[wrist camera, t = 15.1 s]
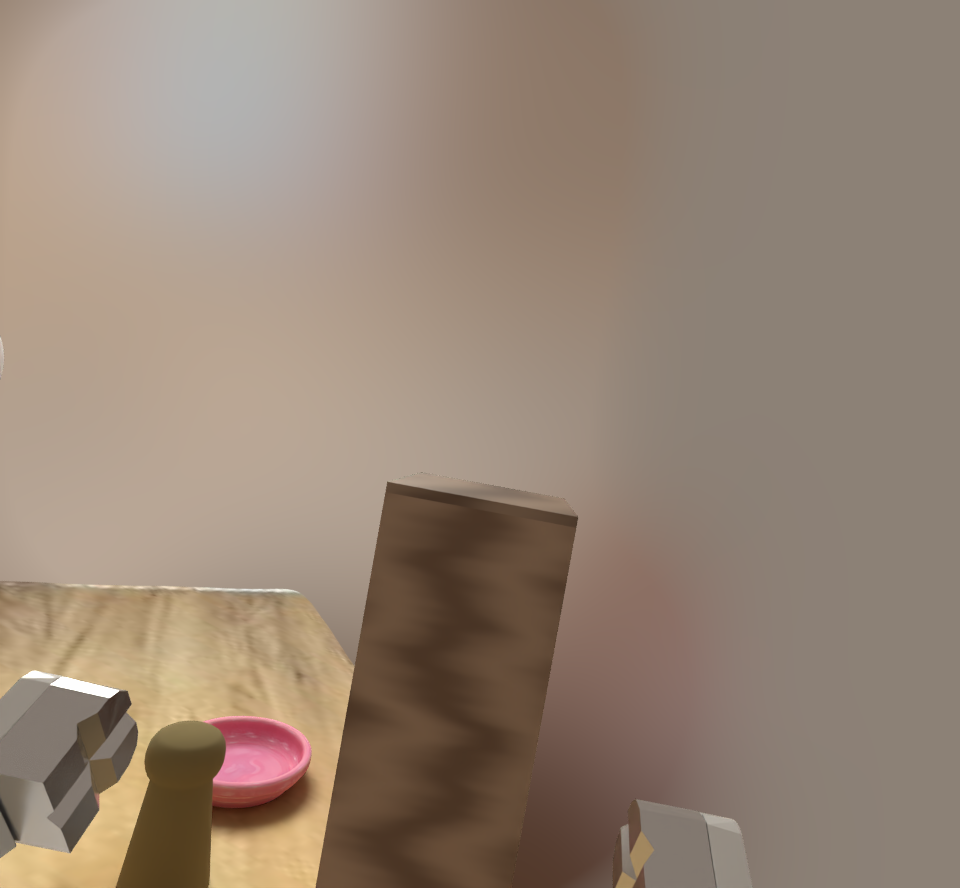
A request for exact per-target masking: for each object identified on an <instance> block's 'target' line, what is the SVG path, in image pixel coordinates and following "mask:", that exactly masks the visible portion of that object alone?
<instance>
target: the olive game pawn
mask: <svg viewBox="0 0 960 888" xmlns="http://www.w3.org/2000/svg"><path fill="white" fill-rule="evenodd" d="M225 754H226V741H225V739H224V736H223V734H222V733H221V731H220V730H219V729H218V728H216V727H215V726H213V725H211V724H208V723H205V722H200V721H182V722H177V723H174V724H171V725H168V726H166V727H164V728H162V729H161V730H160V731H159V732H158V733H156V735H155V736H154V737H153V738H152V739H151V741H150V743H149V746H148V748H147V751H146V755H145V770H146V773H147V776H148V777H149V779H150V781H149V785H148V788H147V791H146V794H145V797H144V800H143V803H142V807H141V810H140V813H139V816H138V819H137V822H136V825H135V829H134V832H133V835H132V838H131V841H130V844H129V848H128V851H127V854H126V857H125V860H124V863H123V866H122V870H121V873H120V876H119V879H118V882H117V886H116V888H207V887H208V885H209V877H210V851H211V824H212V796H213V778H214V777H215V776H216V775H217V774H218V772H219V771H220V769H221V767H222V765H223V763H224V759H225Z"/></svg>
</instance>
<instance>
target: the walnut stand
mask: <svg viewBox="0 0 960 888" xmlns="http://www.w3.org/2000/svg"><path fill="white" fill-rule="evenodd" d="M577 520H578V516H577V515H576V513H575V512H574V511H573V510H572V508H571V507H570V505H569V504H568V503H567V501H566V500H565V499H564V498H558V497H553V496H547V495H541V494H537V493H531V492H526V491H520V490H515V489H509V488H504V487H498V486H493V485H487V484H482V483H477V482H471V481H466V480H460V479H455V478H449V477H444V476H438V475H433V474H427V473H422V472H421V473H417V474H414V475H410V476H406V477H403V478H399V479H396V480H392V481H388V482H387V487H386V493H385V499H384V504H383V510H382V515H381V521H380V527H379V532H378V538H377V544H376V550H375V555H374V561H373V567H372V572H371V578H370V583H369V589H368V595H367V600H366V606H365V612H364V617H363V623H362V628H361V634H360V640H359V646H358V652H357V657H356V662H355V668H354V674H353V679H352V685H351V691H350V696H349V702H348V707H347V713H346V719H345V724H344V730H343V736H342V741H341V747H340V753H339V758H338V764H337V770H336V775H335V781H334V787H333V792H332V798H331V804H330V809H329V815H328V820H327V826H326V832H325V837H324V843H323V849H322V854H321V860H320V866H319V871H318V877H317V883H316V888H511V886H512V880H513V875H514V869H515V864H516V858H517V853H518V847H519V842H520V836H521V830H522V825H523V819H524V814H525V809H526V803H527V798H528V792H529V787H530V781H531V775H532V769H533V764H534V759H535V753H536V747H537V742H538V737H539V731H540V726H541V720H542V714H543V709H544V703H545V698H546V692H547V686H548V681H549V675H550V670H551V665H552V658H553V654H554V648H555V642H556V636H557V632H558V626H559V620H560V615H561V609H562V604H563V598H564V593H565V587H566V582H567V576H568V570H569V565H570V560H571V554H572V548H573V542H574V537H575V532H576V526H577Z"/></svg>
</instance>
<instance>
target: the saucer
mask: <svg viewBox="0 0 960 888" xmlns="http://www.w3.org/2000/svg"><path fill="white" fill-rule="evenodd" d="M204 722H205V723H208V724H211V725H213V726H215V727H216V728H218V729H219V730H220V731H221V733H222V734H223V736H224V739H225V741H226V754H225V759H224V763H223V765H222V767H221V769H220V771H219V772H218V774H217V775H216V776H215V777H214V778H213V796H212V806H216V807H222V808H246V807H253V806H257V805H261V804H264V803H267V802H269V801H272V800H274V799H276V798H277V797H279V796H280V795H281V794H283V793H284V792H285V791H286V790H287V789H289V788H290V787H292V786H293V785H294V784H295V783H296V782H297V781H298V780H299V779H300V778H301V777H302V776H303V775H304V774H305V772H306V771H307V769H308V767H309V764H310V760H311V746H310V744H309V741H308V740H307V738H306V737H305V736H304V735H303V734H302V733H301V732H299V731H298V730H297V729H295V728H293V727H292V726H289V725H287V724H285V723H282V722H279V721H276V720H272V719H267V718H261V717H253V716H231V717H222V718H216V719H211V720H207V721H204Z"/></svg>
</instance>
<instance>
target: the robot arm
mask: <svg viewBox="0 0 960 888" xmlns="http://www.w3.org/2000/svg"><path fill="white" fill-rule="evenodd" d="M3 366H4V351H3V344H2V341H1V337H0V378H1V375H2V372H3ZM130 706H131V701H130V697H129V694H128V691H126V690H121V689H117V688H112V687H107V686H103V685H98V684H93V683H89V682H84V681H79V680H75V679H71V678H68V677H64V676H59V675H54V674H49V673H44V672H39V671H34V670H33V671H32V672H30V673H28V674H27V675H25V676H23V677H22V678H20V679H19V680H18V681H17V682H16V683H15V684H14V685H13V686H12V687H11V688H10V690H9V691H8V692H7V693H6V694H5V695H4V696H3V697H2V698H1V699H0V858H1V857H2V856H4V855H5V854H7V853H8V852H9V851H11V850H12V849H13V848H15V847H16V843H21V844H26V845H31V846H36V847H41V848H46V849H51V850H56V851H61V852H66V853H71V851H72V850H73V848H74V847H75V845H76V844H77V842H78V841H79V839H80V838H81V836H82V835H83V833H84V832H85V830H86V829H87V827H88V826H89V824H90V823H91V821H92V820H93V819H94V817H95V816H96V814H97V813H98V811H99V794H100V793H101V792H103V791H105V790H106V789H108V788H109V787H111V786H113V785H114V784H116V783H117V782H118V781H119V780H120V778H121V776H122V775H123V773H124V772H125V770H126V769H127V767H128V766H129V764H130V761H131V759H132V756H133V753H134V751H135V748H136V746H137V738H138V729H137V725H136V722H135V721H134V720H133V719H132V718H131V717H130V716H129V715H128V714H127V713H126V711H127V710H128V709H129V707H130ZM15 842H16V843H15ZM613 888H753V886H752V881H751V876H750V872H749V867H748V862H747V857H746V852H745V847H744V843H743V838H742V833H741V829H740V828H739V826H738V824H737V822H735V821H734V820H733V819H730V818H725V817H720V816H715V815H710V814H705V813H700V812H699V811H694V810H688V809H684V808H678V807H673V806H668V805H663V804H658V803H653V802H647V801H642V800H637V799H636V800H634V801H632V803H631V805H630V807H629V810H628V825H625V826H623V827H621V829H620V831H619V834H618V837H617V840H616V845H615V851H614V857H613Z"/></svg>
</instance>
